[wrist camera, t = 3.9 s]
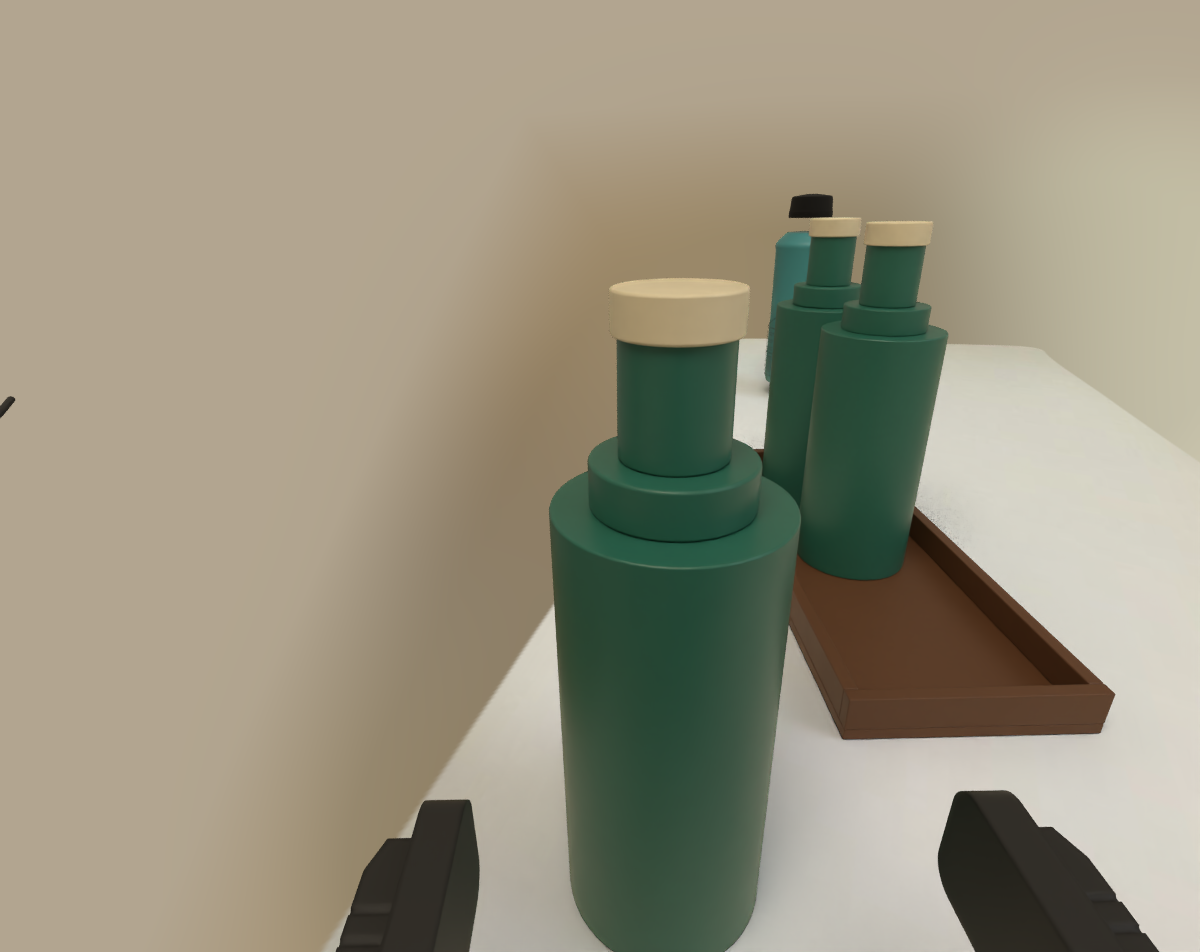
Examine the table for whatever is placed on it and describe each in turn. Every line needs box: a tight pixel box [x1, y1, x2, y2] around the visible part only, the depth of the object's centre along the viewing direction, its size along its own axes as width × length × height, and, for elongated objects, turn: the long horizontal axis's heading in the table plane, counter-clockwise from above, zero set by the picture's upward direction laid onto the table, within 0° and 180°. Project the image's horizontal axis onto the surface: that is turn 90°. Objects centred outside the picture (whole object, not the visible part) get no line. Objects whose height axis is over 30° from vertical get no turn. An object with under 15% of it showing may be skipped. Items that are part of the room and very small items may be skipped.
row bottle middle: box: [797, 221, 948, 580], centre depth 33 cm, size 6×6×18 cm
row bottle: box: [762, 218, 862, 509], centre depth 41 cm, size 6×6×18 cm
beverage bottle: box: [764, 194, 833, 382], centre depth 66 cm, size 6×7×20 cm
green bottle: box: [549, 278, 801, 952], centre depth 17 cm, size 6×6×18 cm
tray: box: [754, 449, 1115, 739], centre depth 37 cm, size 27×10×2 cm, turn 1°
